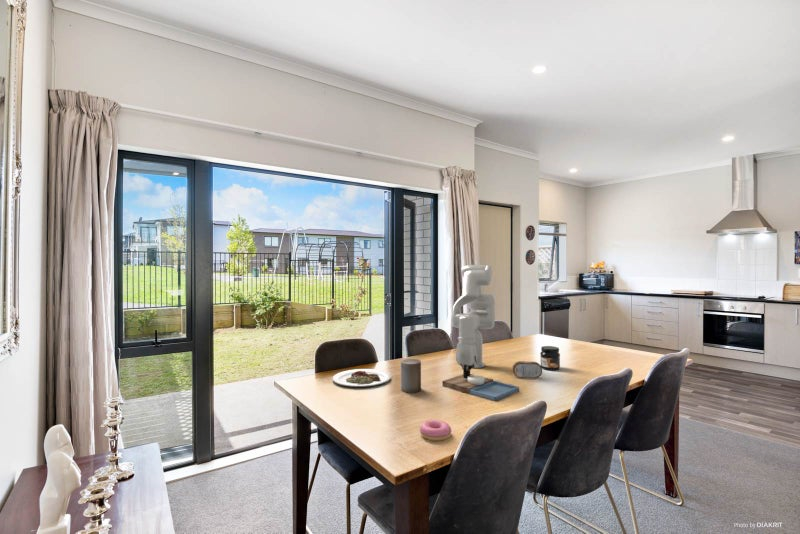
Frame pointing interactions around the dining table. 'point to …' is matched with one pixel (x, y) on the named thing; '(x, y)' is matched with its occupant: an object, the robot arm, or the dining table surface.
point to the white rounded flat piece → (475, 379)
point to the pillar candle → (411, 375)
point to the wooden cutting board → (461, 383)
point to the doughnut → (435, 430)
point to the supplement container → (550, 358)
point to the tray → (494, 390)
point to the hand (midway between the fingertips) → (466, 377)
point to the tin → (527, 369)
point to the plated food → (361, 377)
